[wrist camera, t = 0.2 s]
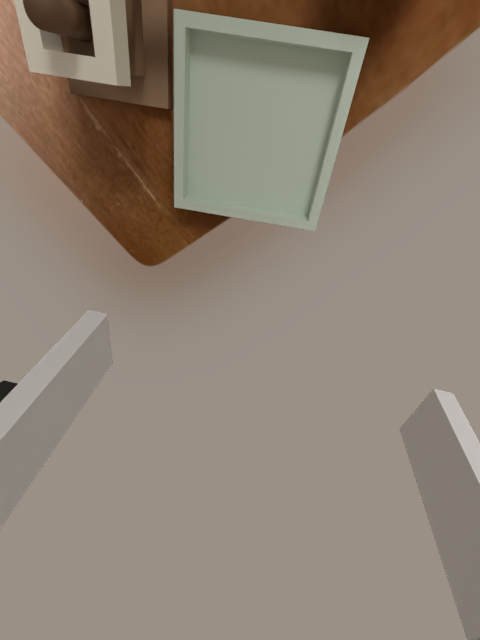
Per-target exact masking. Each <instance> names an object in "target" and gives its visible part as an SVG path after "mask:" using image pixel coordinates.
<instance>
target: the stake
mask: <svg viewBox="0 0 480 640" xmlns="http://www.w3.org/2000/svg"><path fill="white" fill-rule="evenodd" d="M23 5H24V9H25V12H26V14H27V16H28V18H29V19H30V21H31V22H32V23H33V24H34V25H35V26H36V27H37V28H38V29H40V30H43V31H47V32H50V33H54V34H58V35H61V41H62V47H63V52H65V53H72V54H78V55H85V56H91V57H95V50H94V42H93V33H92V25H91V17H90V8H89V0H23ZM125 6H126V20H127V35H128V49H129V64H130V79H131V87H130V86H116V85H110V84H104V83H97V82H91V81H85V80H79V79H72V78H68V79H69V85H70V91H71V94H77V95H84V96H90V97H96V98H102V99H108V100H114V101H121V102H127V103H133V104H139V105H145V106H151V107H158V108H164V109H172V98H171V0H125Z"/></svg>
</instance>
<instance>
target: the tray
mask: <svg viewBox="0 0 480 640" xmlns="http://www.w3.org/2000/svg"><path fill="white" fill-rule="evenodd" d="M368 42H369V38H367V37H361V36H354V35H347V34H341V33H334V32H327V31H321V30H314V29H307V28H300V27H294V26H287V25H280V24H274V23H267V22H260V21H254V20H247V19H240V18H234V17H227V16H220V15H214V14H207V13H200V12H194V11H187V10H180V9H174V207H176V208H182V209H187V210H193V211H199V212H205V213H211V214H216V215H222V216H228V217H234V218H239V219H245V220H251V221H257V222H262V223H268V224H274V225H280V226H286V227H291V228H298V229H303V230H309V231H315V230H316V227H317V223H318V220H319V216H320V213H321V209H322V205H323V202H324V198H325V195H326V191H327V188H328V184H329V181H330V177H331V173H332V170H333V166H334V163H335V159H336V156H337V152H338V149H339V145H340V141H341V138H342V134H343V131H344V127H345V124H346V120H347V116H348V113H349V109H350V106H351V102H352V99H353V95H354V92H355V88H356V84H357V81H358V77H359V74H360V70H361V67H362V63H363V59H364V56H365V52H366V49H367V45H368Z"/></svg>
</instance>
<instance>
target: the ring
mask: <svg viewBox="0 0 480 640" xmlns="http://www.w3.org/2000/svg"><path fill="white" fill-rule="evenodd" d="M14 3H15V8H16V12H17V17H18V21H19V26H20V30H21V35H22V39H23V44H24V48H25V53H26V58H27V62H28V67H29V71H30V72H35V73H41V74H47V75H54V76H60V77H66V78H72V79H79V80H85V81H91V82H97V83H104V84H110V85H116V86H130V87H131V79H130V64H129V49H128V35H127V20H126V6H125V0H89V8H90V17H91V25H92V33H93V42H94V50H95V57H91V56H85V55H78V54H72V53H65V52H63V47H62V41H61V35H58V34H54V33H50V32H47V31H43V30H40V29H38V28H37V27H36V26H35V25H34V24H33V23H32V22H31V21H30V19H29V18H28V16H27V14H26V12H25V9H24V5H23V0H14Z"/></svg>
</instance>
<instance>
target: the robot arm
mask: <svg viewBox="0 0 480 640" xmlns="http://www.w3.org/2000/svg"><path fill="white" fill-rule="evenodd" d="M112 363H113V362H112V352H111V342H110V332H109V323H108V314H105V313H100V312H96V311H91V310H88V311H87V312H86V313H85V314H84V315H83V317H81V318H80V320H79V321H78V322H77V323H76V324H75V325H74V326H73V327H72V328H71V329H70V330H69V331H68V332H67V333H66V334H65V335H64V336H63V337H62V338H61V339H60V341H58V343H57V344H56V345H55V346H54V347H53V348H52V349H51V350H50V351H49V352H48V353H47V354H46V355H45V356H44V357H43V358H42V359H41V360H40V361H39V362H38V364H36V366H35V367H34V368H33V369H32V370H31V371H30V372H29V373H28V374H27V375H26V376H25V377H24V378H23V379H22V380H21V381H20V382H19V383H18V384H17V383H12V382H8V381H2V382H0V529H1V528H2V526H3V525H4V523H5V522H6V520H7V519H8V517H9V516H10V514H11V513H12V511H13V510H14V508H15V507H16V505H17V504H18V502H19V501H20V500H21V498H22V497H23V495H24V494H25V492H26V490H27V489H28V487H29V486H30V485H31V483H32V482H33V480H34V479H35V477H36V476H37V474H38V473H39V471H40V470H41V468H42V467H43V466H44V464H45V463H46V461H47V460H48V458H49V457H50V455H51V454H52V452H53V451H54V449H55V448H56V446H57V445H58V443H59V442H60V440H61V439H62V437H63V436H64V434H65V433H66V431H67V430H68V428H69V427H70V426H71V424H72V423H73V421H74V419H75V418H76V417H77V415H78V414H79V412H80V411H81V409H82V408H83V406H84V405H85V403H86V402H87V400H88V399H89V397H90V396H91V394H92V393H93V391H94V390H95V388H96V387H97V385H98V384H99V383H100V381H101V380H102V378H103V377H104V375H105V374H106V372H107V371H108V369H109V368H110V366H111V365H112ZM400 432H401V435H402V438H403V441H404V444H405V447H406V450H407V454H408V457H409V460H410V463H411V466H412V469H413V472H414V476H415V478H416V482H417V484H418V488H419V491H420V494H421V497H422V500H423V503H424V507H425V510H426V512H427V516H428V519H429V522H430V525H431V528H432V531H433V534H434V538H435V541H436V544H437V547H438V550H439V553H440V557H441V560H442V563H443V566H444V569H445V572H446V575H447V578H448V581H449V585H450V588H451V591H452V594H453V597H454V600H455V603H456V606H457V609H458V613H459V616H460V619H461V622H462V625H463V628H464V631H465V634H466V638H467V640H480V443H479V441H478V439H477V437H476V435H475V433H474V432H473V430H472V428H471V426H470V424H469V422H468V420H467V418H466V417H465V415H464V413H463V411H462V409H461V407H460V405H459V404H458V402H457V400H456V398H455V396H454V394H453V393H450V392H445V391H441V390H437V389H433V390H432V391H431V393H430V394H429V395H428V396H427V397H426V399H425V400H424V401H423V402H422V403H421V404H420V406H419V407H418V408H417V409H416V410H415V411H414V413H413V414H412V415H411V416H410V418H409V419H408V420H407V421H406V422H405V423H404V424H403V426H402V427H401V428H400Z"/></svg>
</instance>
